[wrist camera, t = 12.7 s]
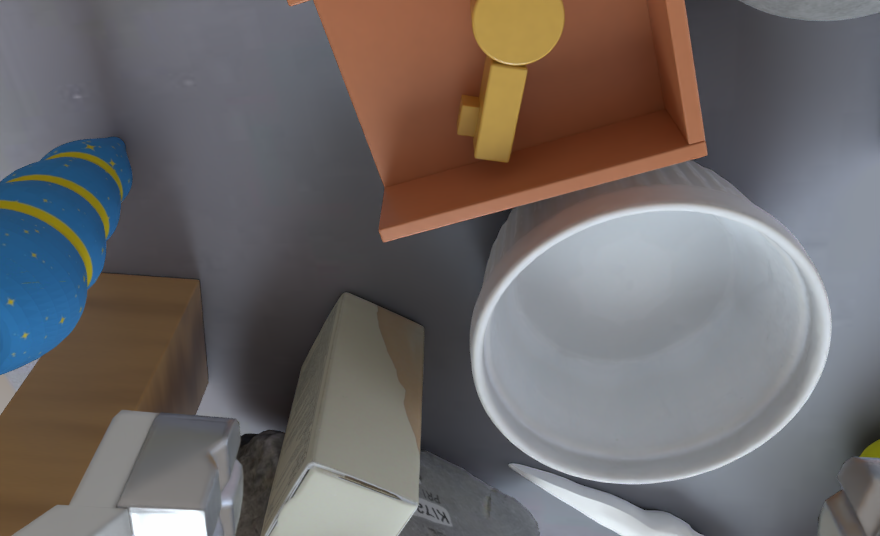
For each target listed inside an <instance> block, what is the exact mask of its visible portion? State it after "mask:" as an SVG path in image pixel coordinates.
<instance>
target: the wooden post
mask: <svg viewBox="0 0 880 536" xmlns="http://www.w3.org/2000/svg"><path fill="white" fill-rule="evenodd" d="M207 385H208V372H207V361H206V349H205V338H204V326H203V315H202V303H201V292H200V281H199V280H194V279H181V278H167V277H153V276H139V275H126V274H112V273H100V275H99V277H98V279H97V280H96V282H95V283H94V284H93V285H92V286H91V287H90V288H89V289H88V290H87V299H86V303H85V307H84V310H83V313H82V316H81V318H80V319H79V321H78V323H77V324H76V326H75V328H74V329H73V331H72V332H71V333H70V334H69V335H68V336H67V337H66V338H65V339H64V340H63V341H62V342H61V343H60V344H58V345H57V346H56V347H55V348H53V349H52V350H50V351H49V352H47V353H46V354H44V355H43V356H41V357H40V359H39V360H38V362H37V363H36V365H35V366H34V368H33V369H32V370H31V372H30V373H29V375H28V376H27V378H26V379H25V380H24V382H23V383H22V385H21V386H20V388H19V389H18V391H17V392H16V393H15V395H14V396H13V398H12V399H11V401H10V402H9V404H8V405H7V407H6V408H5V409H4V411H3V412H2V414H1V415H0V536H11V535H13V534H14V533H16V532H17V531H19V530H20V529H22V528H23V527H25V526H26V525H28V524H29V523H31V522H32V521H34V520H35V519H37V518H38V517H39V516H41V515H42V514H44V513H45V512H47V511H48V510H50V509H51V508H53V507H54V506H56V505H69V504H70V502H71V500H72V498H73V496H74V494H75V492H76V490H77V488H78V486H79V484H80V482H81V480H82V478H83V476H84V474H85V472H86V470H87V468H88V466H89V464H90V462H91V460H92V458H93V456H94V454H95V452H96V450H97V448H98V446H99V444H100V442H101V441H102V439H103V437H104V435H105V433H106V431H107V429H108V427H109V425H110V423H111V421H112V419H113V417H115V416H116V415H117V414H118V413H119V412H120V411H121V410H131V411H141V412H152V413H161V412H163V413H175V414H187V415H196V413H197V410H198V407H199V405H200V402H201V400H202V397H203V395H204V392H205V390H206V387H207Z"/></svg>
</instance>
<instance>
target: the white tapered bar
mask: <svg viewBox="0 0 880 536" xmlns="http://www.w3.org/2000/svg"><path fill="white" fill-rule="evenodd" d="M508 465H509V467H510V468H512V469H513V470H514V471H516V472H517V473H519V474H520V475H522V476H523V477H525V478H526V479H528V480H530V481H531V482H533V483H534V484H536V485H537V486H539V487H541V488H542V489H544V490H545V491H547V492H548V493H550V494H552V495H553V496H555V497H557V498H558V499H560V500H562V501H563V502H565V503H567V504H569V505H570V506H572V507H574V508H575V509H577V510H578V511H580V512H582V513H583V514H585V515H586V516H588V517H590V518H591V519H593V520H594V521H596V522H597V523H599V524H601V525H603V526H605V527H607V528H609V529H611V530H613V531H615V532H616V533H618V534H620V535H622V536H704V535H702V534H699V533H697V532H696V531H694V530H693V529H692V528H691V527H690V525H689V524H688V523H686V522H684V521H683V520H681V519H679V518H677V517H675V516H674V515H672V514H671V513H668V512H665V511H657V510H643V509H641V508H639V507H637V506H635V505H633V504H631V503H629V502H627V501H626V500H623V499H621V498H619V497H617V496H614V495H612V494H609V493H606V492H603V491H600V490H596V489H593V488H590V487H587V486H583V485H580V484H578V483H575V482H573V481H571V480H569V479H567V478H564V477H561V476H558V475H555V474H552V473H549V472H546V471H543V470H539V469H536V468H532V467H529V466H525V465H521V464H515V463H510V464H508Z"/></svg>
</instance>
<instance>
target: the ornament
mask: <svg viewBox="0 0 880 536" xmlns="http://www.w3.org/2000/svg"><path fill="white" fill-rule="evenodd" d="M132 180H133V178H132V169H131V166H130V163H129V159H128V156H127V153H126V146H125V144H124V142H123V141H122V140H121V139H119V138H117V137H108V138H97V139H84V140H77V141H73V142H69V143H65V144H63V145H61V146H59V147H57V148H55V149H53V150H52V151H50V152H49V153H48V154H47V155H45V156H44V157H43V158H42V159H41V160H40V161H39V162H36V163H32V164H29V165H27V166H25V167H22V168H20V169H18V170H16V171H14V172H13V173H11V174H10V175H8V176H7V177H6V178H4V179H3V180H2V181H1V182H0V375H2V374H4V373H7V372H9V371H12V370H15V369H17V368H19V367H21V366H24V365H26V364H28V363H30V362H32V361H34V360H36V359H38V358H39V357H41V356H43V355H44V354H46V353H47V352H49V351H50V350H52V349H53V348H55V347H56V346H57V345H58V344H60V343H61V342H62V341H63V340H64V339H65V338H66V337H67V336H68V335H69V334H70V333H71V332H72V331H73V329H74V328H75V326H76V324H77V323H78V321H79V319H80V318H81V316H82V313H83V310H84V307H85V303H86V299H87V290H88V289H89V288H90V287H91V286H92V285H93V284H94V283H95V282H96V280H97V279H98V277H99V275H100V273H101V272H102V270H103V266H104V262H105V257H106V241H107V240H108V239H109V238H110V237H111V235H112V234H113V233H114V231H115V229H116V227H117V224H118V221H119V218H120V210H121V202H122V201H123V200H124V199H125V198H126V196H127V195H128V193H129V191H130V189H131V186H132Z"/></svg>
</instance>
